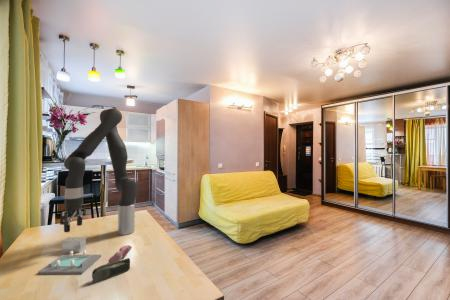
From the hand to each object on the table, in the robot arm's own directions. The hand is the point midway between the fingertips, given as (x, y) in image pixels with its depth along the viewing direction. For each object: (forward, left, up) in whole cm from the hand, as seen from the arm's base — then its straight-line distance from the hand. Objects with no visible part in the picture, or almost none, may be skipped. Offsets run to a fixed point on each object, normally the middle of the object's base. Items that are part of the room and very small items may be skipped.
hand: (73, 228), depth 101 cm
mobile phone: (+20, +29, -12) cm, 37 cm away
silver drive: (0, 0, -11) cm, 11 cm away
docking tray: (+12, +8, -11) cm, 18 cm away
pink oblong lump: (+8, +27, -12) cm, 31 cm away
